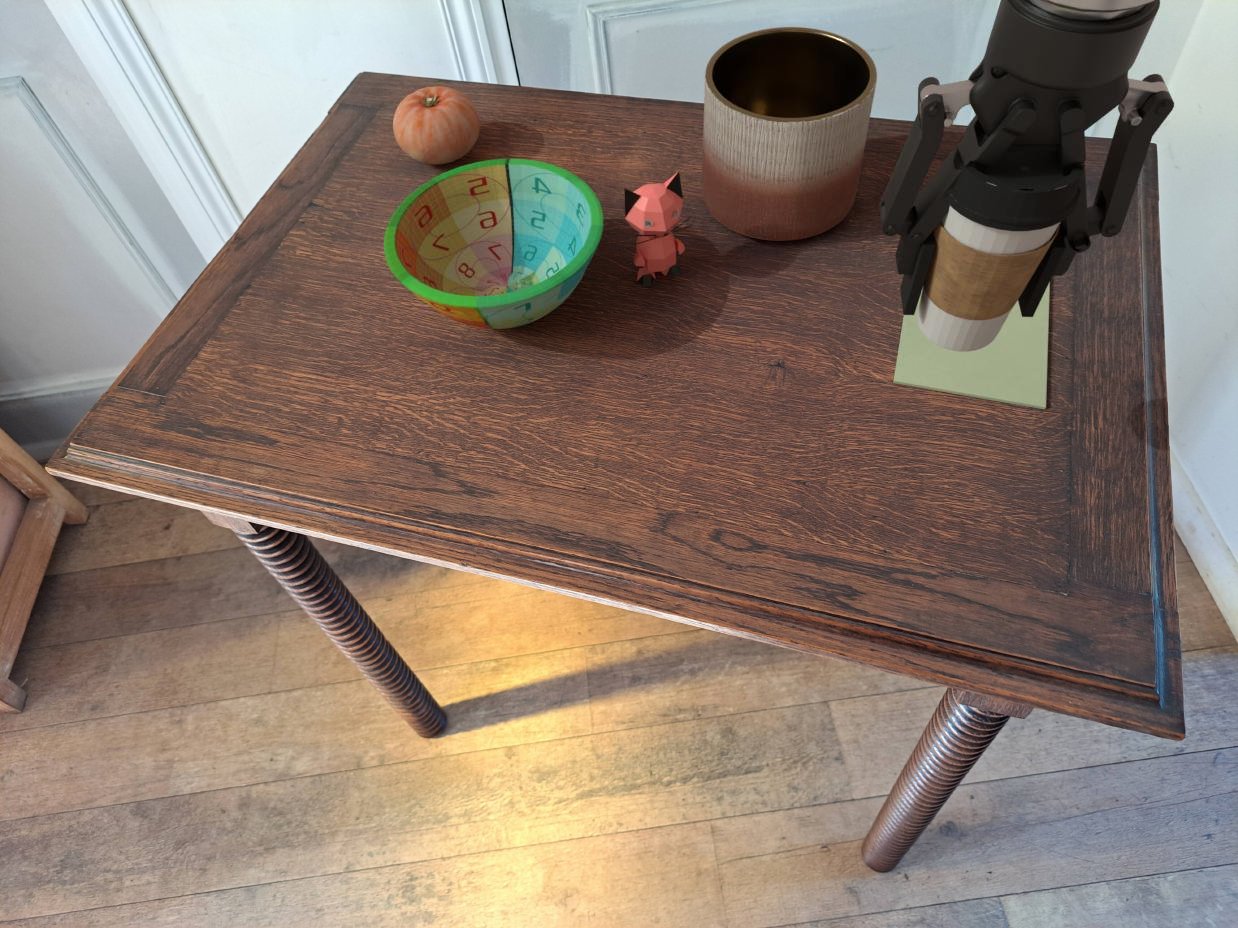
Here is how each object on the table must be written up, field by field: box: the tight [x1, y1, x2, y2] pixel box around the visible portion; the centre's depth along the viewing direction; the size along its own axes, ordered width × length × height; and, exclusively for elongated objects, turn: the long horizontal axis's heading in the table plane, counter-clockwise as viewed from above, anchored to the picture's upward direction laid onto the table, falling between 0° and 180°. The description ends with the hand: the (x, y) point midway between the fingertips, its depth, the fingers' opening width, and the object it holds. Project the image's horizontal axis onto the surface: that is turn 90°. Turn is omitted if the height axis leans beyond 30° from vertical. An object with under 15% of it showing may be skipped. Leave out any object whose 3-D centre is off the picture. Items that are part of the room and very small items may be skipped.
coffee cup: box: [917, 135, 1083, 352], centre depth 58 cm, size 8×8×15 cm
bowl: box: [383, 158, 605, 330], centre depth 90 cm, size 22×22×10 cm
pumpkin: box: [392, 85, 481, 165], centre depth 107 cm, size 11×11×8 cm
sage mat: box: [893, 281, 1051, 411], centre depth 87 cm, size 20×14×1 cm
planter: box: [701, 26, 878, 242], centre depth 94 cm, size 18×18×16 cm
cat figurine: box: [623, 170, 692, 287], centre depth 90 cm, size 7×7×12 cm
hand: (965, 302), depth 62 cm, fingers closed on coffee cup, 8 cm apart
